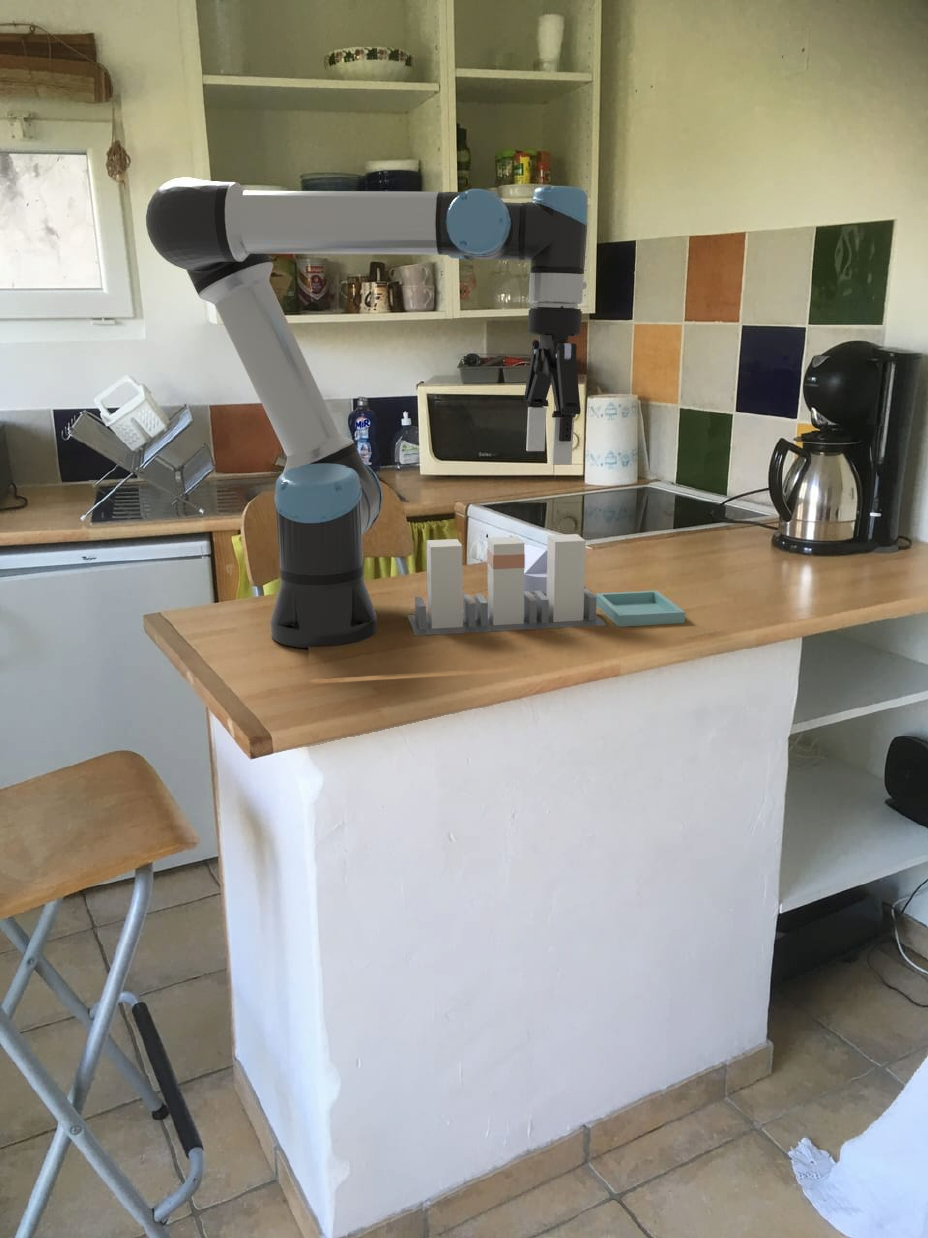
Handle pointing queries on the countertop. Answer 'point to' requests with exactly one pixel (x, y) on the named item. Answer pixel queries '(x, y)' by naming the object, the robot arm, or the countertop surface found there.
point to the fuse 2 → (565, 577)
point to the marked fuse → (506, 580)
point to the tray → (639, 608)
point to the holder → (533, 619)
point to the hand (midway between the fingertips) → (547, 457)
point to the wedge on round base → (535, 569)
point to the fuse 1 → (444, 583)
